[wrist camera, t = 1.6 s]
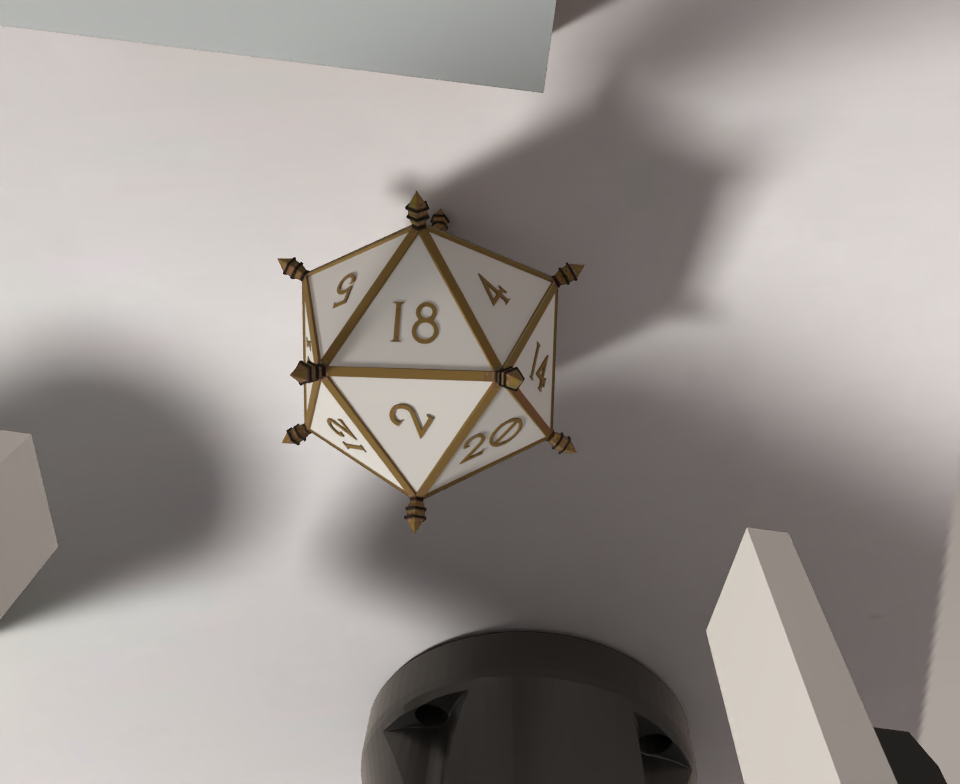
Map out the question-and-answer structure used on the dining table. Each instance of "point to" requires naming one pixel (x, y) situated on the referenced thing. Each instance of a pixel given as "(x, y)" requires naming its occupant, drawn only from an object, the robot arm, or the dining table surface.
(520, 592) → the dining table surface
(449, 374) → the game die
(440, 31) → the tower top
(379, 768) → the robot arm
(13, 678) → the dining table surface
